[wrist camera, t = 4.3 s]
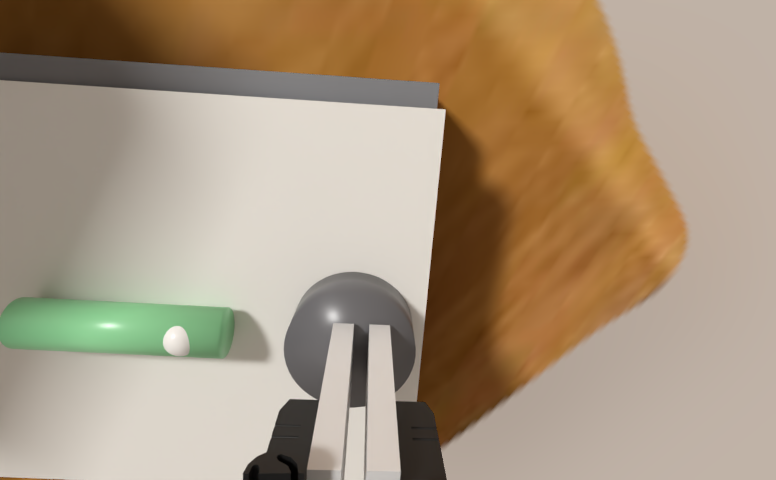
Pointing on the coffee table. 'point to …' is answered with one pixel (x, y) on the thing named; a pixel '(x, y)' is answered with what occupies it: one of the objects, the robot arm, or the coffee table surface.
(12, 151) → the level plate
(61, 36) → the coffee table surface
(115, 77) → the level base
